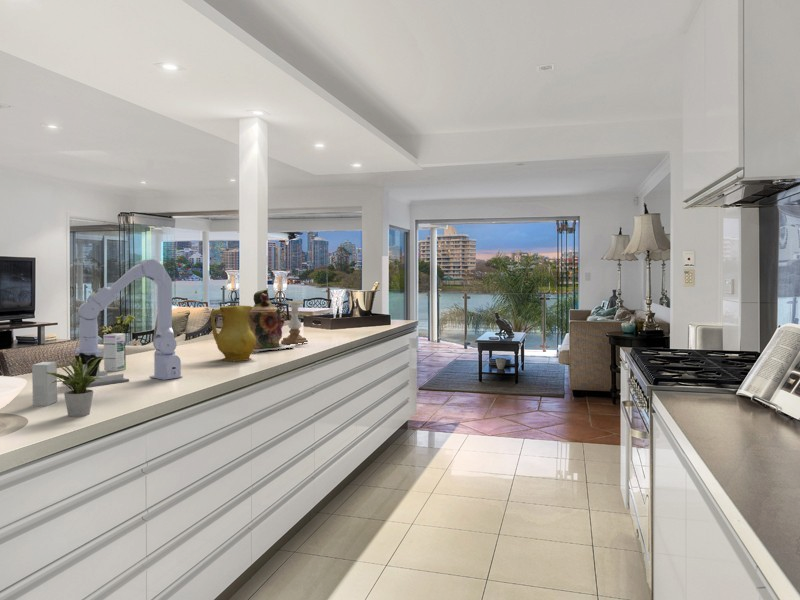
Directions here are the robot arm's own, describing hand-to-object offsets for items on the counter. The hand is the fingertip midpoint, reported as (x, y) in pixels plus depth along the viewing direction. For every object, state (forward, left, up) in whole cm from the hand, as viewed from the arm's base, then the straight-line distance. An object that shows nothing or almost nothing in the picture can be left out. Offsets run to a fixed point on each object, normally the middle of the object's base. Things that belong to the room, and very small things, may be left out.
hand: (88, 375), depth 210 cm
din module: (0, 0, -2) cm, 2 cm away
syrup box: (+21, -22, -3) cm, 30 cm away
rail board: (0, -3, -3) cm, 4 cm away
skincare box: (-23, +25, -3) cm, 34 cm away
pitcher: (+10, -73, -3) cm, 73 cm away
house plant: (-43, +25, -3) cm, 50 cm away
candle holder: (+35, -137, -3) cm, 141 cm away
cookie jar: (+31, -109, -3) cm, 114 cm away
